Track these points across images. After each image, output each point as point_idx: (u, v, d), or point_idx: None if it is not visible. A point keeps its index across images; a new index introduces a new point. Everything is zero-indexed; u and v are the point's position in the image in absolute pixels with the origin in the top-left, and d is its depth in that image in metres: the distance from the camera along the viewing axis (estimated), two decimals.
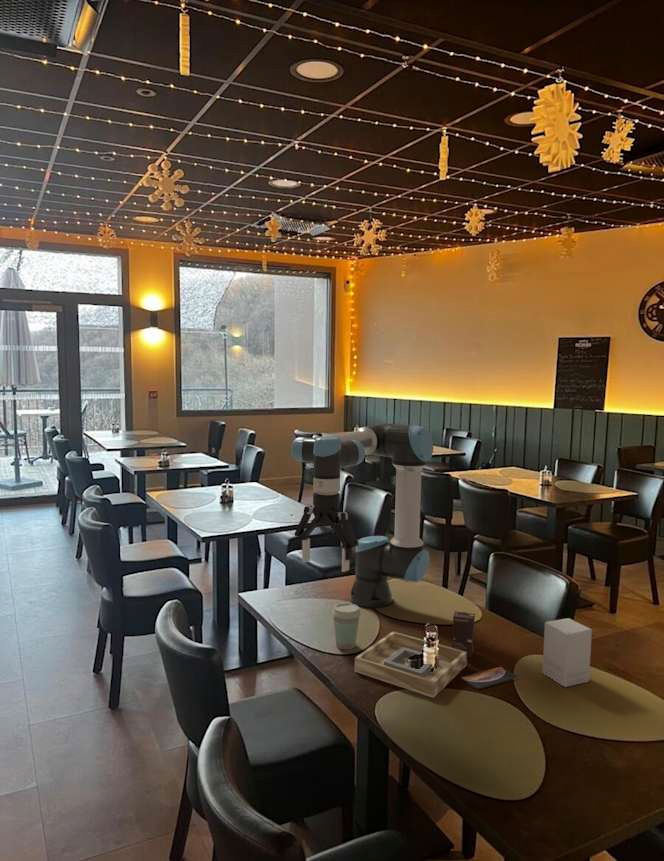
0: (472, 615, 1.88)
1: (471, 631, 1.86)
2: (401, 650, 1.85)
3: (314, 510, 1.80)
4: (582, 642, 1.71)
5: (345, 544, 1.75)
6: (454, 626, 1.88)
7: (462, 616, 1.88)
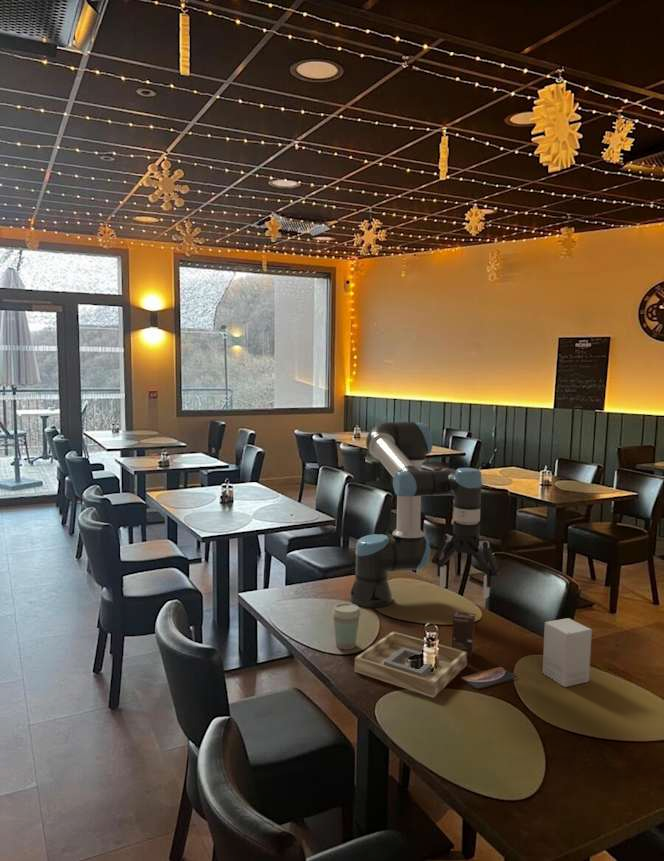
0: (472, 615, 1.88)
1: (471, 631, 1.86)
2: (401, 650, 1.85)
3: (454, 538, 1.87)
4: (582, 642, 1.71)
5: (487, 572, 1.82)
6: (454, 626, 1.88)
7: (463, 616, 1.88)
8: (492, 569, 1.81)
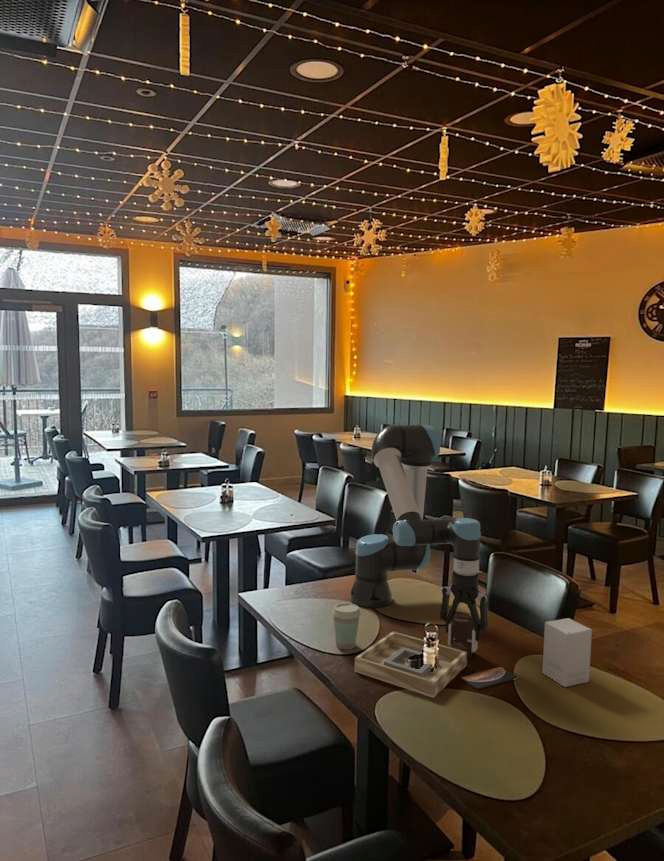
0: None
1: (471, 631, 1.86)
2: (401, 650, 1.85)
3: (452, 588, 1.89)
4: (582, 642, 1.71)
5: (476, 626, 1.85)
6: (454, 626, 1.88)
7: (463, 616, 1.88)
8: (482, 623, 1.84)
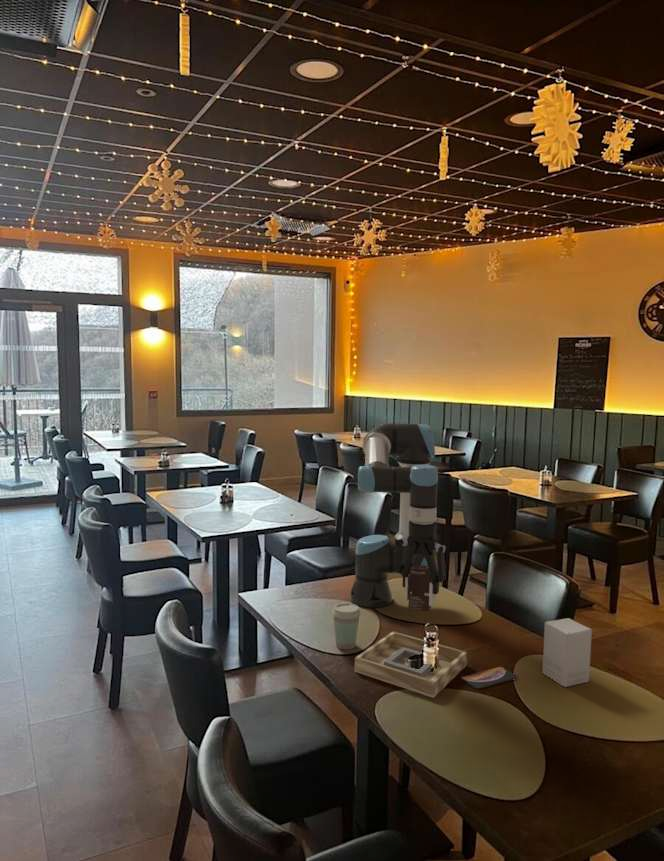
0: None
1: (428, 584, 1.76)
2: (401, 650, 1.85)
3: (409, 539, 1.78)
4: (582, 642, 1.71)
5: (434, 578, 1.75)
6: (410, 579, 1.77)
7: (419, 568, 1.77)
8: (439, 575, 1.74)
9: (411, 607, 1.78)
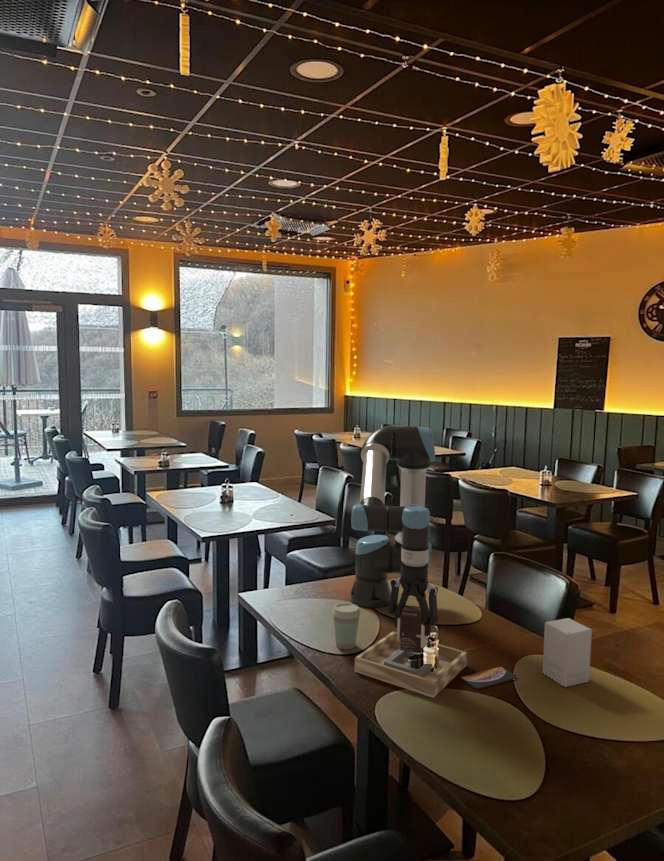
0: None
1: (420, 626, 1.76)
2: (401, 650, 1.85)
3: (401, 580, 1.78)
4: (582, 642, 1.71)
5: (425, 620, 1.75)
6: (402, 620, 1.77)
7: (411, 609, 1.77)
8: (431, 617, 1.74)
9: (403, 648, 1.78)
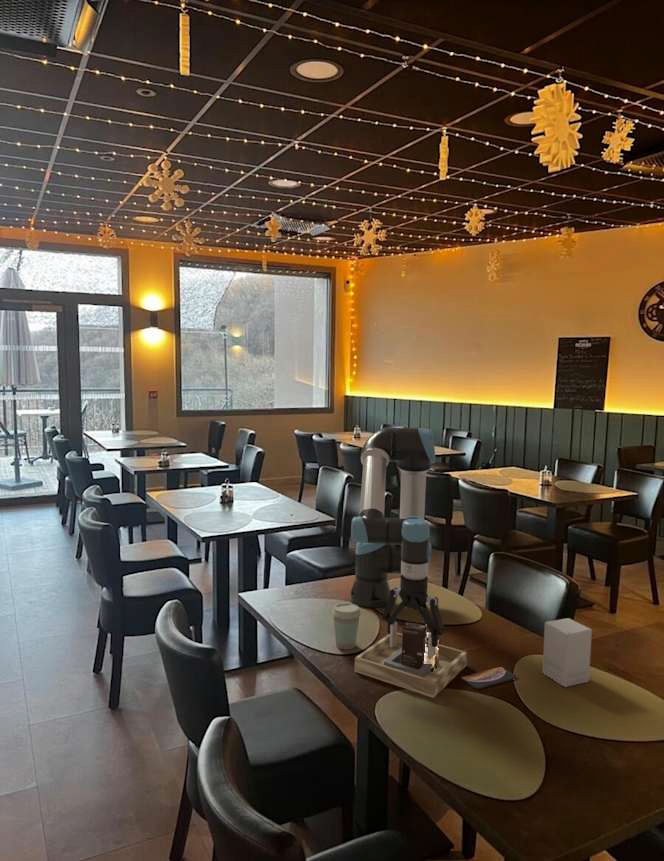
0: (423, 626, 1.78)
1: (421, 643, 1.76)
2: (401, 650, 1.85)
3: (401, 593, 1.79)
4: (582, 642, 1.71)
5: (432, 631, 1.74)
6: (403, 638, 1.77)
7: (413, 627, 1.77)
8: (437, 628, 1.73)
9: None
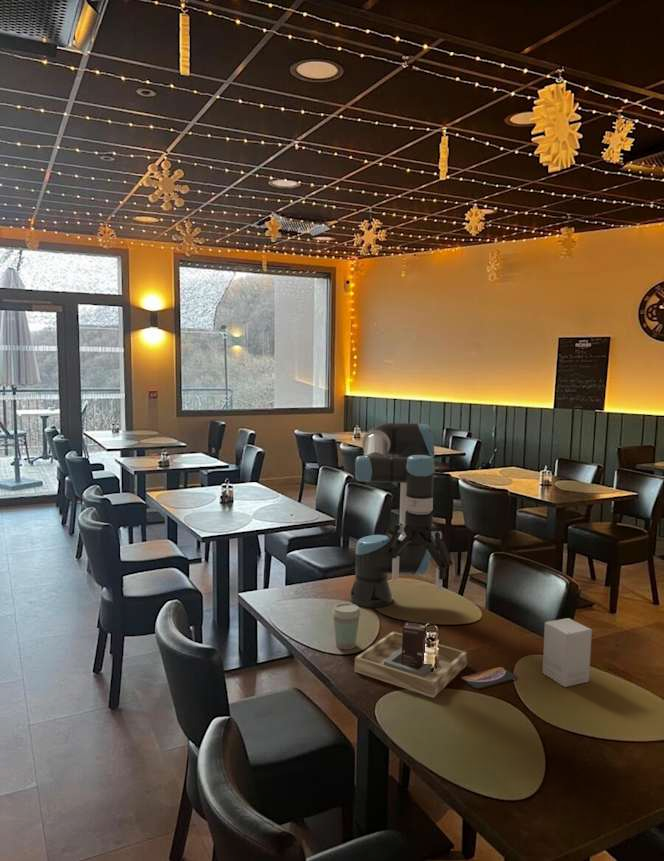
0: (423, 626, 1.78)
1: (421, 643, 1.76)
2: (401, 650, 1.85)
3: (406, 529, 1.79)
4: (582, 642, 1.71)
5: (439, 564, 1.74)
6: (403, 638, 1.77)
7: (413, 627, 1.77)
8: (444, 561, 1.73)
9: None
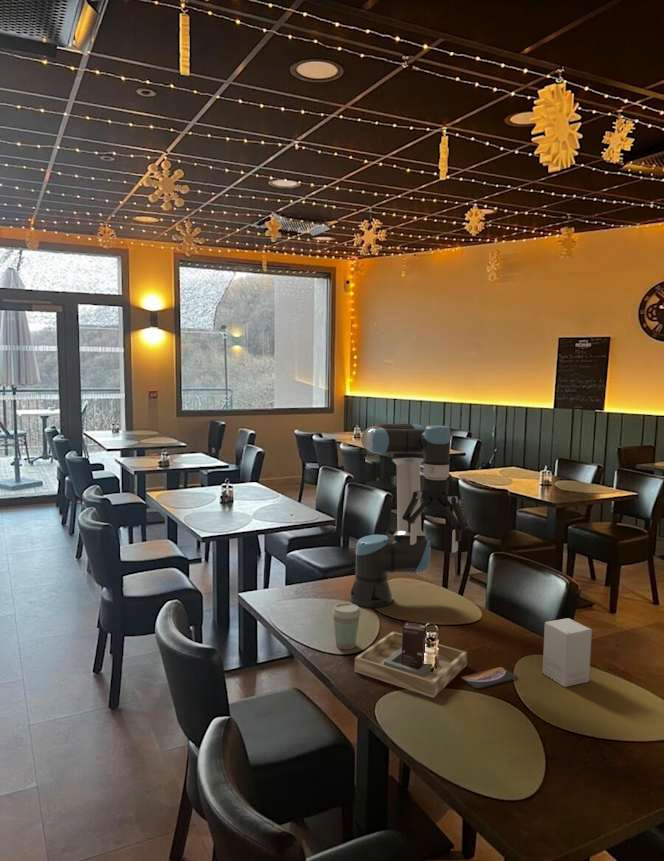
0: (423, 626, 1.78)
1: (421, 644, 1.76)
2: (401, 650, 1.85)
3: (423, 495, 1.91)
4: (582, 642, 1.71)
5: (456, 526, 1.86)
6: (403, 638, 1.77)
7: (413, 627, 1.77)
8: (460, 523, 1.85)
9: None
